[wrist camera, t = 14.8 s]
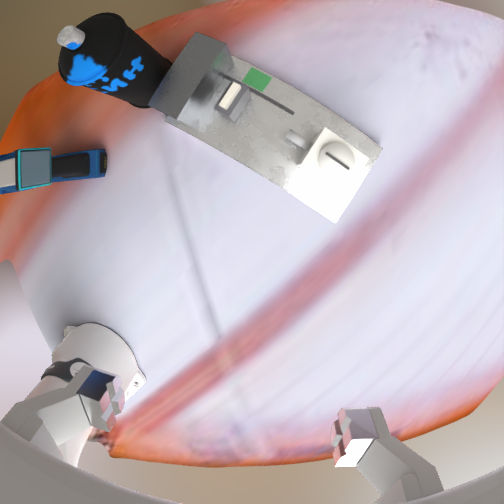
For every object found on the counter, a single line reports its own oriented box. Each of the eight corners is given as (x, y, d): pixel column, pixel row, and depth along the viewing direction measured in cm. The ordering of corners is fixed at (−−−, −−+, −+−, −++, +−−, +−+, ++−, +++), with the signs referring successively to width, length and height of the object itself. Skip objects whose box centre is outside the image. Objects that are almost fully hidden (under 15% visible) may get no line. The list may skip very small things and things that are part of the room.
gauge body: (356, 159, 34) (371, 158, 28) (336, 191, 35) (348, 196, 30) (297, 118, 33) (302, 110, 27) (275, 151, 34) (277, 148, 29)
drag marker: (251, 96, 32) (247, 83, 26) (234, 122, 33) (227, 114, 28) (237, 89, 32) (231, 75, 26) (220, 115, 33) (211, 106, 27)
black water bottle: (122, 67, 33) (35, 23, 14) (173, 49, 32) (106, -19, 13) (127, 115, 35) (31, 93, 16) (180, 99, 34) (105, 51, 15)
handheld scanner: (120, 178, 38) (23, 191, 19) (44, 185, 39) (-45, 202, 20) (120, 147, 37) (23, 141, 18) (44, 158, 38) (-46, 166, 19)
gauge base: (379, 149, 35) (406, 146, 27) (332, 221, 38) (349, 236, 30) (214, 50, 32) (201, 25, 24) (168, 122, 35) (142, 112, 27)
